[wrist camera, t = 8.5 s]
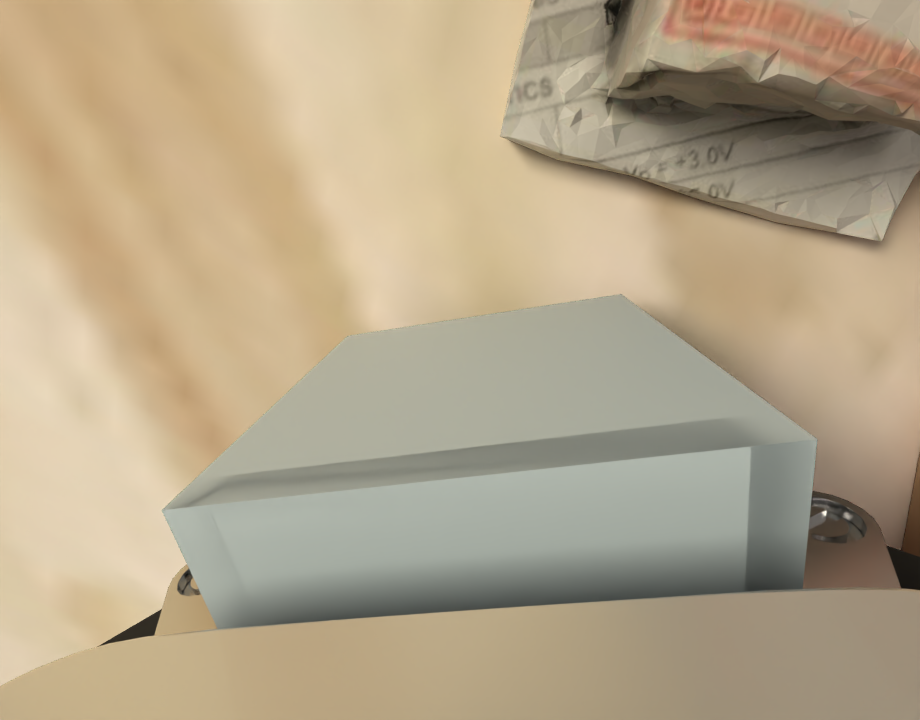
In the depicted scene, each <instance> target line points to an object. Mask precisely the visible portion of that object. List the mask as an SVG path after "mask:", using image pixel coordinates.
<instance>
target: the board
mask: <svg viewBox="0 0 920 720" xmlns="http://www.w3.org/2000/svg"><path fill="white" fill-rule="evenodd" d="M902 551H904V552H907V553H910V554H913V555H916V556H919V557H920V454H919V460H918V465H917V471H916V476H915V482H914V487H913V492H912V498H911V503H910V509H909V514H908V520H907V525H906V531H905V536H904V542H903V547H902Z"/></svg>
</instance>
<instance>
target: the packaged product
mask: <svg viewBox="0 0 920 720" xmlns="http://www.w3.org/2000/svg"><path fill="white" fill-rule="evenodd" d="M500 136H501V137H503V138H505V139H508V140H510V141H513V142H515V143H517V144H520V145H522V146H525V147H527V148H529V149H532V150H534V151H537V152H539V153H541V154H544V155H546V156H549V157H551V158H553V159H556V160H561V161H565V162H570V163H575V164H579V165H584V166H589V167H593V168H598V169H603V170H607V171H612V172H617V173H621V174H626V175H631V176H634V177H637V178H640V179H642V180H645V181H648V182H651V183H654V184H657V185H659V186H662V187H665V188H668V189H671V190H674V191H676V192H679V193H682V194H685V195H688V196H691V197H694V198H697V199H700V200H704V201H707V202H710V203H714V204H717V205H720V206H724V207H727V208H730V209H734V210H737V211H740V212H744V213H747V214H750V215H753V216H757V217H760V218H763V219H767V220H770V221H773V222H777V223H783V224H789V225H795V226H800V227H806V228H812V229H818V230H823V231H829V232H835V233H840V234H845V235H851V236H856V237H861V238H866V239H871V240H876V241H882V240H883V238H884V235H885V233H886V231H887V228H888V226H889V224H890V221H891V219H892V217H893V214H894V213H895V211H896V209H897V207H898V205H899V203H900V202H901V200H902V198H903V196H904V194H905V193H906V191H907V189H908V187H909V185H910V183H911V182H912V180H913V178H914V176H915V175H916V174H917V173H918V172H919V171H920V0H531V4H530V8H529V11H528V15H527V19H526V23H525V26H524V30H523V34H522V38H521V42H520V45H519V49H518V53H517V57H516V61H515V66H514V71H513V76H512V80H511V85H510V90H509V95H508V100H507V105H506V110H505V114H504V119H503V124H502V129H501V134H500Z"/></svg>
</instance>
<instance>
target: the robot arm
mask: <svg viewBox="0 0 920 720" xmlns="http://www.w3.org/2000/svg"><path fill="white" fill-rule="evenodd" d="M0 720H920V557H919V556H916V555H913V554H910V553H907V552H904V551H901V550H898V549H895V548H892V547H889V546H886V544H885V541H884V538H883V535H882V532H881V529H880V527H879V526H878V524H877V523H876V521H875V520H874V518H873V517H872V516H870V515H869V514H868V513H867V512H866V511H864V510H863V509H862V508H860V507H858V506H856V505H854V504H852V503H851V502H849V501H847V500H844V499H841V498H838V497H836V496H833V495H829V494H825V493H820V492H815V491H812V499H811V509H810V519H809V529H808V539H807V550H806V560H805V570H804V580H803V589H789V590H765V591H749V592H734V593H719V594H703V595H688V596H672V597H657V598H642V599H626V600H611V601H596V602H582V603H567V604H553V605H538V606H524V607H509V608H495V609H481V610H466V611H452V612H439V613H425V614H411V615H397V616H384V617H369V618H355V619H341V620H328V621H315V622H302V623H289V624H276V625H262V626H249V627H236V628H223V629H217V627H216V625H215V622H214V620H213V618H212V616H211V614H210V612H209V610H208V608H207V605H206V603H205V601H204V599H203V597H202V595H201V593H200V591H199V588H198V586H197V584H196V582H195V580H194V578H193V576H192V574H191V571H190V569H189V567H188V565H186V566H184V567H183V568H182V569H181V570H180V571H179V572H178V573H177V574H176V576H175V577H174V578H173V579H172V581H171V583H170V585H169V587H168V590H167V594H166V597H165V601H164V604H163V607H162V609H161V610H160V611H158V612H156V613H154V614H153V615H151V616H149V617H148V618H146V619H144V620H142V621H141V622H139V623H137V624H136V625H134V626H132V627H130V628H129V629H127V630H125V631H124V632H122V633H120V634H118V635H117V636H115V637H113V638H112V639H110V640H108V641H106V642H105V643H103V644H101V645H100V646H98V647H95V648H91V649H88V650H84V651H81V652H77V653H74V654H72V655H69V656H66V657H64V658H61V659H58V660H56V661H53V662H51V663H48V664H46V665H43V666H41V667H38V668H36V669H34V670H32V671H30V672H27V673H25V674H23V675H21V676H19V677H17V678H15V679H13V680H11V681H9V682H7V683H5V684H3V685H2V686H0Z"/></svg>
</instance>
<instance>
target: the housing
mask: <svg viewBox="0 0 920 720" xmlns="http://www.w3.org/2000/svg"><path fill="white" fill-rule="evenodd" d="M816 449H817V439H816V438H815V437H814V436H812V435H811V434H810V433H808V432H807V431H805V430H804V429H803V428H801V427H800V426H799V425H797V424H796V423H795V422H793V421H792V420H791V419H789V418H788V417H787V416H785V415H784V414H783V413H781V412H780V411H778V410H777V409H776V408H774V407H773V406H772V405H770V404H769V403H768V402H766V401H765V400H764V399H762V398H761V397H760V396H758V395H757V394H755V393H754V392H753V391H751V390H750V389H749V388H747V387H746V386H745V385H743V384H742V383H741V382H739V381H738V380H737V379H735V378H734V377H732V376H731V375H730V374H728V373H727V372H726V371H724V370H723V369H722V368H720V367H719V366H718V365H716V364H715V363H714V362H712V361H711V360H710V359H708V358H707V357H705V356H704V355H703V354H701V353H700V352H699V351H697V350H696V349H695V348H693V347H692V346H691V345H689V344H688V343H687V342H685V341H684V340H682V339H681V338H680V337H678V336H677V335H676V334H674V333H673V332H672V331H670V330H669V329H668V328H666V327H665V326H664V325H662V324H661V323H659V322H658V321H657V320H655V319H654V318H653V317H651V316H650V315H649V314H647V313H646V312H645V311H643V310H642V309H641V308H639V307H638V306H637V305H635V304H634V303H632V302H631V301H630V300H628V299H627V298H626V297H624V296H623V295H622V294H619V295H612V296H606V297H599V298H593V299H586V300H580V301H573V302H567V303H560V304H553V305H547V306H540V307H534V308H527V309H521V310H514V311H508V312H501V313H495V314H488V315H481V316H475V317H468V318H462V319H455V320H449V321H442V322H436V323H429V324H422V325H416V326H409V327H403V328H396V329H390V330H383V331H377V332H370V333H363V334H357V335H350V336H347V337H346V338H345V339H344V340H343V341H342V342H340V343H339V344H338V345H337V346H336V347H335V348H334V349H333V350H332V351H331V352H330V353H329V354H328V355H327V356H326V357H324V358H323V359H322V360H321V361H320V362H319V363H318V364H317V365H316V366H315V367H314V368H313V369H312V370H311V371H310V372H308V373H307V374H306V375H305V376H304V377H303V378H302V379H301V380H300V381H299V382H298V383H297V384H296V385H295V386H294V387H292V388H291V389H290V390H289V391H288V392H287V393H286V394H285V395H284V396H283V397H282V398H281V399H280V400H279V401H278V402H276V403H275V404H274V405H273V406H272V407H271V408H270V409H269V410H268V411H267V412H266V413H265V414H264V415H263V416H262V417H261V418H259V419H258V420H257V421H256V422H255V423H254V424H253V425H252V426H251V427H250V428H249V429H248V430H247V431H246V432H245V433H243V434H242V435H241V436H240V437H239V438H238V439H237V440H236V441H235V442H234V443H233V444H232V445H231V446H230V447H229V448H227V449H226V450H225V451H224V452H223V453H222V454H221V455H220V456H219V457H218V458H217V459H216V460H215V461H214V462H213V463H211V464H210V465H209V466H208V467H207V468H206V469H205V470H204V471H203V472H202V473H201V474H200V475H199V476H198V477H197V478H195V479H194V480H193V481H192V482H191V483H190V484H189V485H188V486H187V487H186V488H185V489H184V490H183V491H182V492H181V493H179V494H178V495H177V496H176V497H175V498H174V499H173V500H172V501H171V502H170V503H169V504H168V505H167V506H166V507H165V508H164V509H162V512H163V514H164V516H165V518H166V520H167V523H168V525H169V527H170V529H171V531H172V533H173V535H174V537H175V540H176V542H177V544H178V546H179V548H180V550H181V552H182V554H183V557H184V559H185V561H186V563H187V565H188V567H189V569H190V571H191V574H192V576H193V578H194V580H195V582H196V584H197V586H198V588H199V591H200V593H201V595H202V597H203V599H204V601H205V603H206V605H207V608H208V610H209V612H210V614H211V616H212V618H213V620H214V622H215V625H216V627H217V629H223V628H236V627H249V626H262V625H276V624H289V623H302V622H315V621H328V620H341V619H355V618H369V617H384V616H397V615H411V614H425V613H439V612H452V611H466V610H481V609H495V608H509V607H524V606H538V605H553V604H567V603H582V602H596V601H611V600H626V599H642V598H657V597H672V596H688V595H703V594H719V593H734V592H749V591H765V590H789V589H803V580H804V570H805V560H806V550H807V539H808V529H809V519H810V509H811V499H812V489H813V479H814V469H815V459H816Z"/></svg>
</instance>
